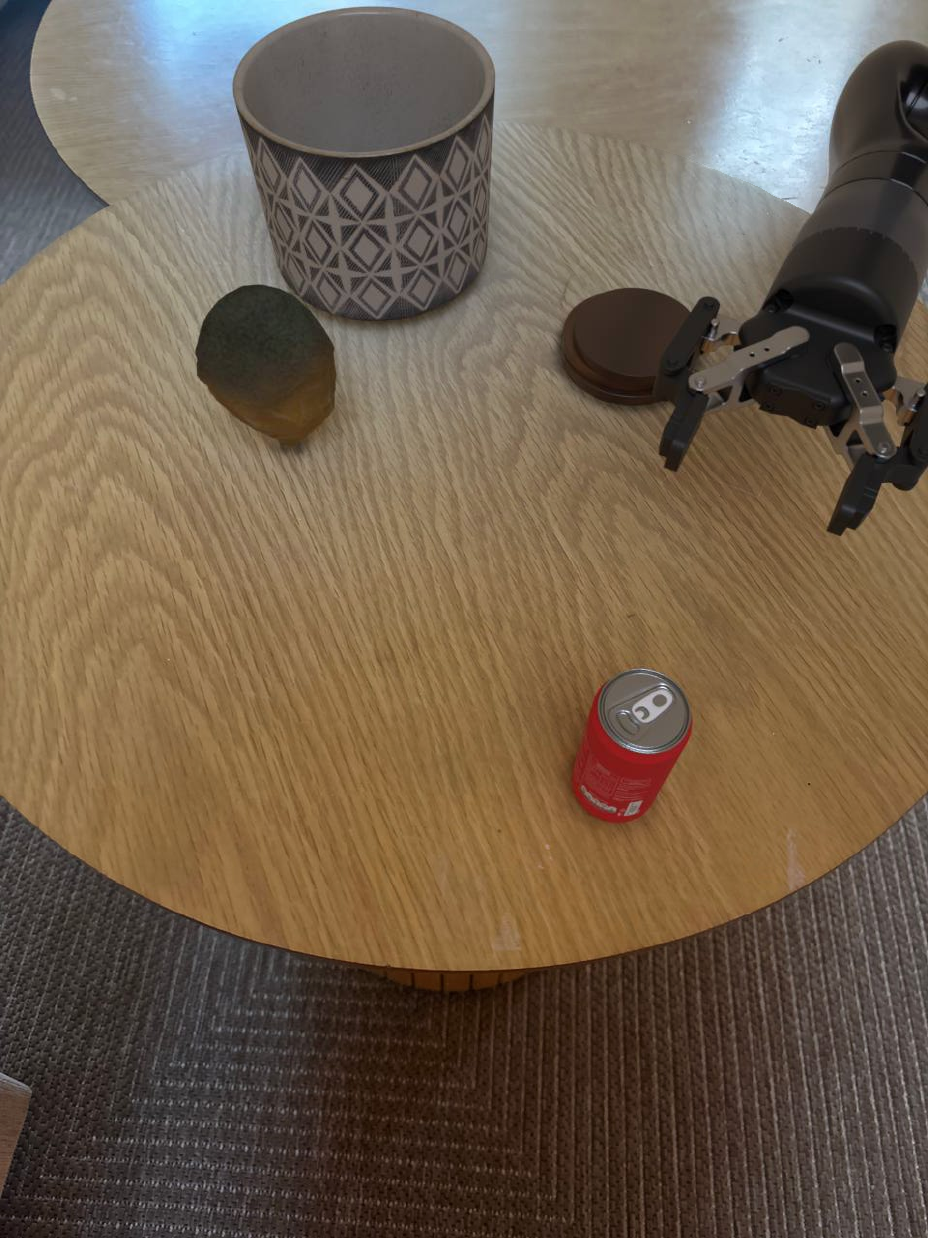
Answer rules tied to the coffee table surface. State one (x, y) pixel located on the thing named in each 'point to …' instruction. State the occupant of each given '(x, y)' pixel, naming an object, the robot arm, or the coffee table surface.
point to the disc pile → (620, 343)
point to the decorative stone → (268, 362)
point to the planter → (371, 157)
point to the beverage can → (630, 744)
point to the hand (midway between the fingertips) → (754, 492)
